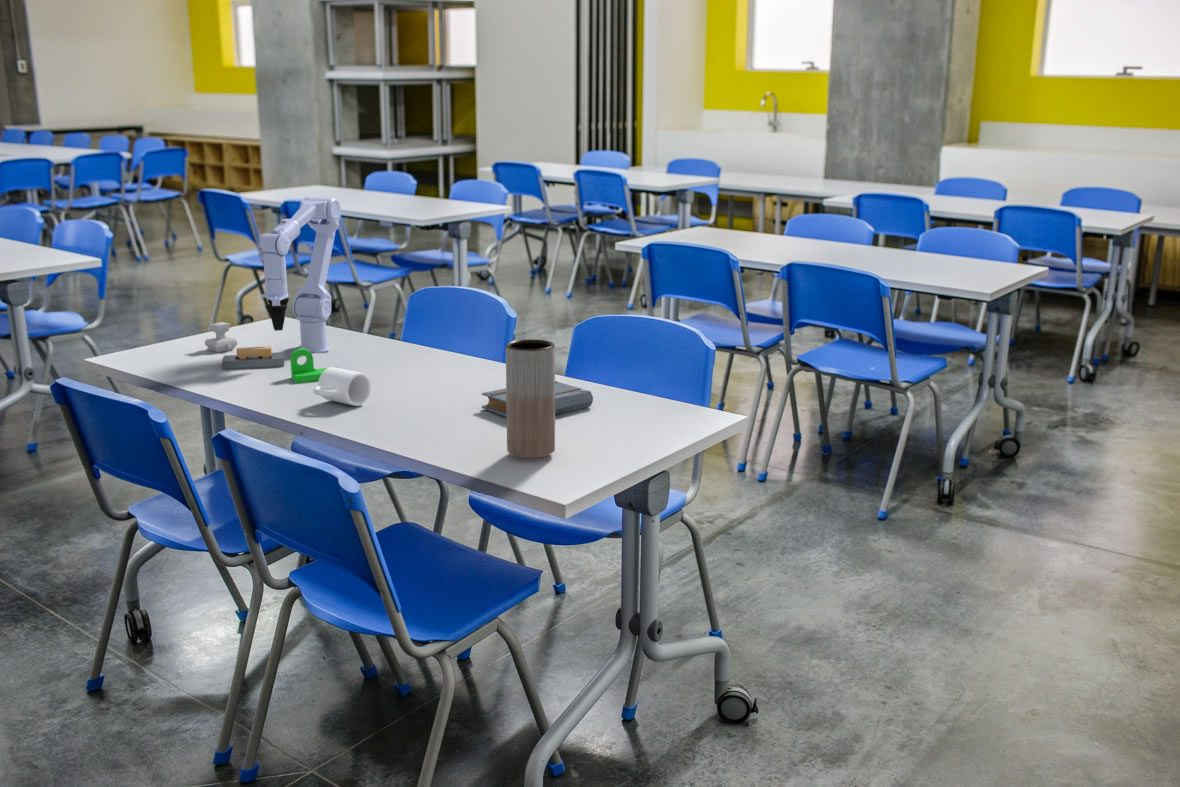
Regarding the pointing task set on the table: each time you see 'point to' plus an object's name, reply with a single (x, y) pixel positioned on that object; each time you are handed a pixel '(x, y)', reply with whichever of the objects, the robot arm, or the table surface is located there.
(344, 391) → the mug
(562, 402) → the book
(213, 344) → the stamp
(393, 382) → the table surface
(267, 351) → the tan wooden block
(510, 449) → the planter
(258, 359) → the grey flat block
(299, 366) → the mechanical part
